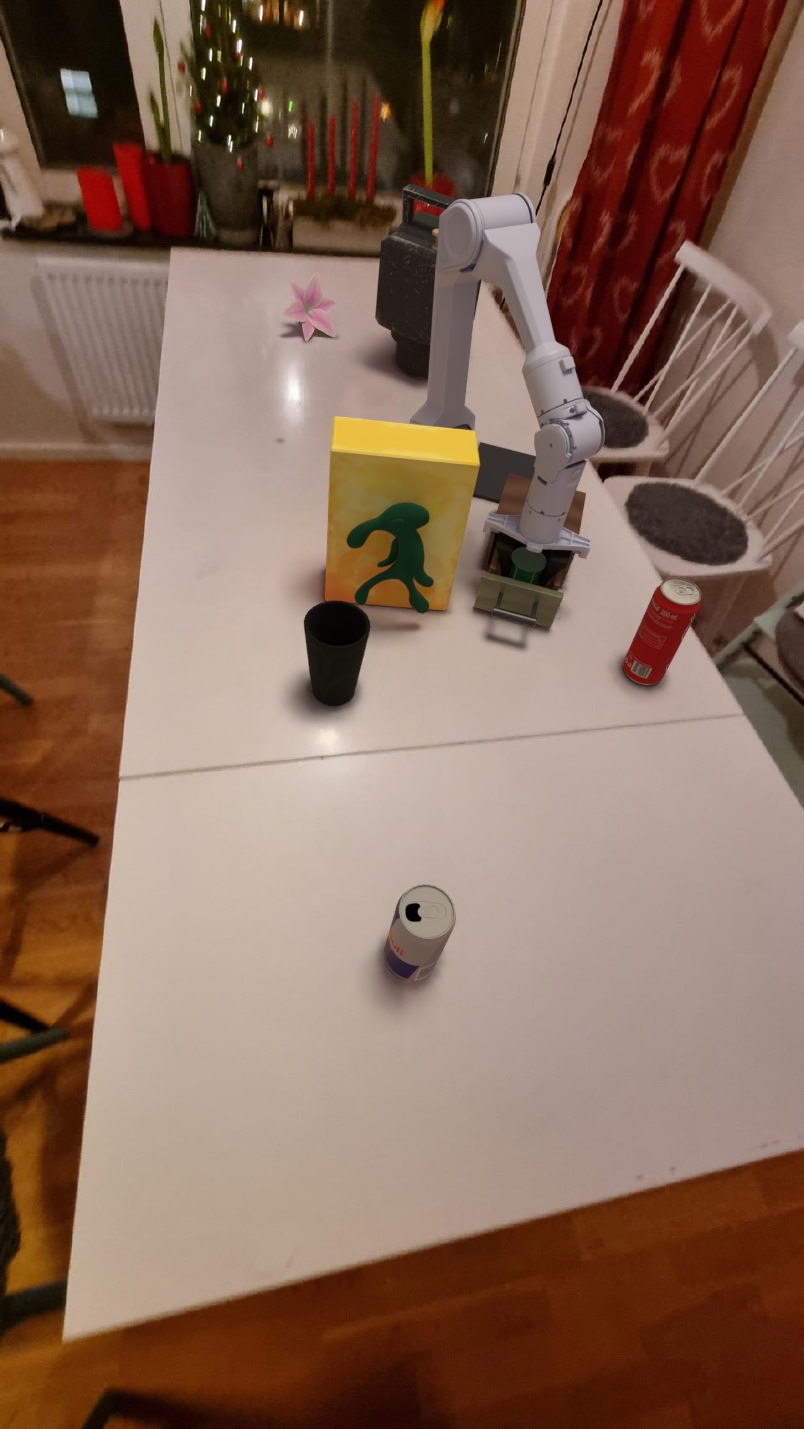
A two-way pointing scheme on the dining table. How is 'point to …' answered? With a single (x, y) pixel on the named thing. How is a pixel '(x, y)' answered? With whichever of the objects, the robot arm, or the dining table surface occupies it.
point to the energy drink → (419, 932)
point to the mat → (500, 470)
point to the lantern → (411, 281)
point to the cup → (335, 649)
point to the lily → (311, 307)
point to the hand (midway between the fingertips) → (521, 581)
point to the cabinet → (514, 505)
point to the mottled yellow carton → (397, 511)
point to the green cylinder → (526, 566)
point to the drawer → (519, 595)
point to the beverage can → (662, 630)
